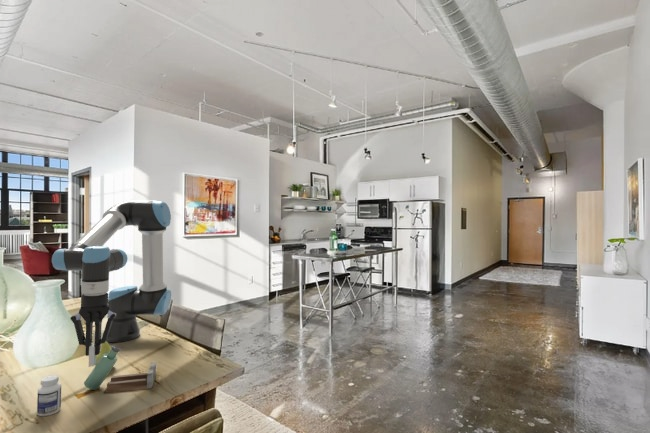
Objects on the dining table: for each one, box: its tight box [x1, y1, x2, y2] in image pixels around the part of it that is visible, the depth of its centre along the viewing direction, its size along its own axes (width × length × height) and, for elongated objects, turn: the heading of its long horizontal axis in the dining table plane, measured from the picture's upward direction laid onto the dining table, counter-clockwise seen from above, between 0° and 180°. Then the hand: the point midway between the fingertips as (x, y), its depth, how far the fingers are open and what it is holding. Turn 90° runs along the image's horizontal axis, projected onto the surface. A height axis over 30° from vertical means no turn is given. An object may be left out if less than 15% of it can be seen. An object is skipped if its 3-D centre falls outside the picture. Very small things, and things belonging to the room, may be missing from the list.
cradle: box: [103, 361, 157, 394], centre depth 118 cm, size 9×14×5 cm, turn 108°
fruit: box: [94, 341, 117, 367], centre depth 130 cm, size 7×8×12 cm
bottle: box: [83, 345, 122, 391], centre depth 115 cm, size 5×5×14 cm
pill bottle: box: [36, 374, 62, 417], centre depth 101 cm, size 5×5×10 cm
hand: (92, 364), depth 114 cm, fingers closed
